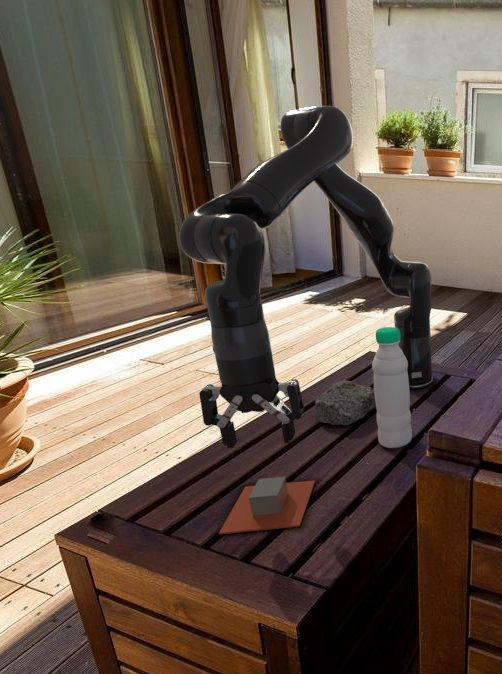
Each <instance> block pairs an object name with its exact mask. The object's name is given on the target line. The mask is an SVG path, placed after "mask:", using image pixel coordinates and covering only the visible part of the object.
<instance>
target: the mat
mask: <svg viewBox="0 0 502 674" xmlns="http://www.w3.org/2000/svg"><path fill="white" fill-rule="evenodd" d="M315 483H316V480H304V481H294V482H287V489H288V496H287V498H286V501H285V503H284V506H283V508H282V510H281V513H277V514H267V515H256V516H252V512H251V507H250V502H249V496H250V494H251V493H252V491H253V489H254V487H255V485H247V486H244V488H243V489H242V492H241V493H240V495H239V497H238V499H237V500H236V502H235V504H234V505H233V508H232V509H231V511H230V512H229V514H228V516H227V518H226V520H225V521H224V524H223V525H222V527H221V529H220V530H219V531H218V535H229V534H239V533H247V532H248V533H250V532H257V531H268V530H279V529H289V528H298V527H301V525H302V521H303V519H304V515H305V513H306V510H307V507H308V504H309V502H310V498H311V495H312V492H313V489H314V487H315Z"/></svg>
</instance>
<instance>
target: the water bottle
mask: <svg viewBox="0 0 502 674" xmlns="http://www.w3.org/2000/svg"><path fill="white" fill-rule="evenodd" d="M375 340H376V344H377V345H378V349H377V350H376V352H375V355H374V357H373V359H372V363H371V369H372V371H373V389H374V394H375V403H376V406H375V409H376V424H377V439H378V443H379V444H380V445H381V446H382V447H384V448H387V449H399V448H403V447H405V446H407V445H409V443H411V441H412V439H413V430H412V424H411V422H412V414H411V413H412V412H411V410H410V406H411V405H410V403H411V402H410V401H411V400H410V399H411V398H410V397H411V396H410V389H409V379H408V372H407V368H408V362H407V359H406V357H405V355H404V354H403V352H402V350H401V348H400V347H399V345H398V344H399V342H400V330H399V329H397V328H395V326H383V327H380V328H378V329H377V330H376V331H375Z"/></svg>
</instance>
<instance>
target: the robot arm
mask: <svg viewBox="0 0 502 674" xmlns="http://www.w3.org/2000/svg"><path fill="white" fill-rule="evenodd" d="M280 132H281V133H280V134H281V137H282V139H283V142H284V144H285V147H286V149H285V150H284V151H281V152H279V153H277V154H275V155H273V156H272V157H271V156H270V158H268V159H266V160H264V161H262V162H261V163H259V164H257V165H256V166H255V167H254V168H252V169H251V170H250V171H249V172H248V173H247V174H246V175H245V176H244V177H243V178H242V179H240V180H239V181H238V183H236V184H235V186H233V187H232V189H230V190H229V191H227V192H224V193H222V194H220V195H217V196H216V197H214V198H212V199H211V200H209V201H207V202H205V203H203V204H201V205H200V206H198V207H197V208H195V209H193V210H192V211H190V213H189V214H188V215H187V216H185V218H184V220H183V221H182V223H181V225H180V228H179V232H178V241H179V245H180V248H181V249H182V251H183V253H184V254H185V255H186V256H187V257H188V258H190V259H191V260H193V261H196V262H197V263H203V264H212V265H213V264H214V265H225V275H224V279H220V280H216V281H213V282H211V283H209V284H208V285H207V286H206V288H205V289H204V290H205V291H204V298H205V304H206V307H207V313H208V318H209V322H210V330H211V331H210V332H211V343H212V351H213V353H214V357H215V362H216V363H215V364H216V366H217V370H218V371H217V372H218V377H219V382H220V383H221V386H214V385H213V384H212V383H208V384H206V385H205V386H204V387H203V388H202V389H201V390H200V391H199V393H198V396H199V402H200V408H201V414H202V419H203V420H202V421H203V424H204V425H205V426H207V427H209V426H215V427H216V426H217V428H219V432H220V436H221V441H222V442H221V443H223V445H224V446H226V447H227V449H233V448H235V446H236V444H237V443H238V438H237V434H236V433H237V432H236V428H235V423H234V421H232V420H231V419H232V418H233V416H234V415H235V414H236V412H237V411H238V412H240V413H242V414H247V413H251V412H255V413H263V412H264V411H266V412H267V413H268V414H269V415H270V416H273V417H276V418H277V419H278V420H279V421H280V422H281V431H282V438H283V443H284V444H291V441H292V440H294V437H295V435H296V428H295V420H299V419H301V418H302V415H303V414H304V412H305V405H304V401H303V396H302V391H301V386H300V382H299V380H298V379H296V378H293V379H291V380H290V381H288V382H279V381H278V379H277V377H276V371H275V370H276V369H275V365H274V357H273V351H272V346H271V339H270V338H271V337H270V333H269V329H268V326H267V323H266V319H265V313H264V308H263V302H262V297H261V285H262V280H263V269H264V263H265V257H266V255H265V254H266V240H265V239H266V238H265V236H264V233H263V229H267V228H269V227H270V226H272V225H273V224H274V223H275V222H276V221H277V220H278V219H279V218H280V216H281V215H282V214H283V213H284V212H285V211H286V209H287V208H289V206H290V205H291V204H292V202H293V201H294V200H295V199H296V198H297V197H298V196H299V195H300V194H301V193H302V192H303V191H304V190H305V189H306V188H307V187H308V186H309V185H311V184H312V183H313V182H314V184H315V185H316V186H317V187H318V188H319V189H320V190H321V192H322V193H323V195H325V197H326V198H327V200H328V201H329V203H330V204H331V205H332V207H333V208H334V210H336V212H337V213H338V215H339V216H340V217H341V219H342V221H343V222H344V224H345V225H346V227H347V228H348V230H349V231H350V233H351V234H352V236H353V237H354V238H355V240H356V241H357V242H358V243H359V246H361V248H362V249H363V251H364V252H365V254H366V255H367V257H368V259H369V260H370V262H371V263H372V265H373V267H374V268H375V270H376V272H377V275H378V276H379V278H380V280H381V282H382V284H383V286H384V287H385V289H386V290H387V292H388V293H390V294H391V295H393V296H395V297H400V298H407V299H408V298H409V301H410V302H409V306H408V307H404V308H401V309H399V310H397V311H395V312H394V315H393V321H394V322H393V323H394V328H397V329H399V330H400V342H399V344H398V345H399V347H400V348H401V350H402V352H403V354H404V355H405V357H406V359H407V362H408V368H407V372H408V379H409V390H417V389H423V388H427V387H429V386H431V384H433V382H434V381H433V363H432V339H431V338H432V337H431V313H432V312H431V311H432V274H431V270H430V266H428V264H427V263H424V262H420V261H409V260H401V259H399V258H398V256H397V255H396V254H395V252H394V250H393V248H392V243H393V239H394V233H395V226H394V225H395V224H394V221H393V219H392V217H391V215H390V213H389V211H388V210H387V208H386V206H385V204H384V203H383V201H382V199H381V198H380V197H379V196H378V194H376V193H375V192H374V191H373V190H371V189H370V188H369V187H367V186H366V185H365V184H363V183H361V182H360V181H358V180H357V179H355V178H354V177H352V176H351V175H349V174H348V173H347V172H346V171H344V170H343V169H342V167H340V166H339V165H338V163H340V162H341V161H343V160H344V159H346V157H347V156H349V154H350V153H351V151H352V149H353V145H354V132H353V128H352V125H351V122H350V120H349V118H348V116H347V115H346V113H344V111H343V110H341V109H340V108H339V107H337V106H333V105H318V106H311V107H304V108H299V109H294V110H290V111H288V112H286V113H285V114H284V115H282V118H281V120H280ZM279 392H281V393H283V395H284V396H285V397H286V398H287V397H288V401H289V405H290V408H289V406H287V405H286V404H285V401H284V400H283V399H282V398H280V396H279V395H278V394H279ZM219 397H221V398H223V399H224V400H225V401H226V402H227V403H228V406H227V408H226V409H225V410H224V412H223V414H220V413H219V409H218V403H217V399H219Z"/></svg>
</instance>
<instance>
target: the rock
mask: <svg viewBox="0 0 502 674" xmlns="http://www.w3.org/2000/svg"><path fill="white" fill-rule="evenodd" d="M374 408H376V403H375V394H374V388H373V387H371V386H369V385H363V384H362V385H360V384H357V383H356V382H355V381H351V380H347V379H345V380H340V381H337V382H334V383H333V384H332V385H331V386H328V387H327V389H326V391H324V392H323V393H322V394H321V395H319V396H317V397H316V398H315V401H314V409H315V419H316V421H318V422H319V423H323V424H331V425H333V426H340V425H342V426H349V425H351V424H354V423H355V422H356V421H358V420H360V419H364V418H365V415H366V414H367V413H369V412H370V411H371V410H372V409H374Z"/></svg>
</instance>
